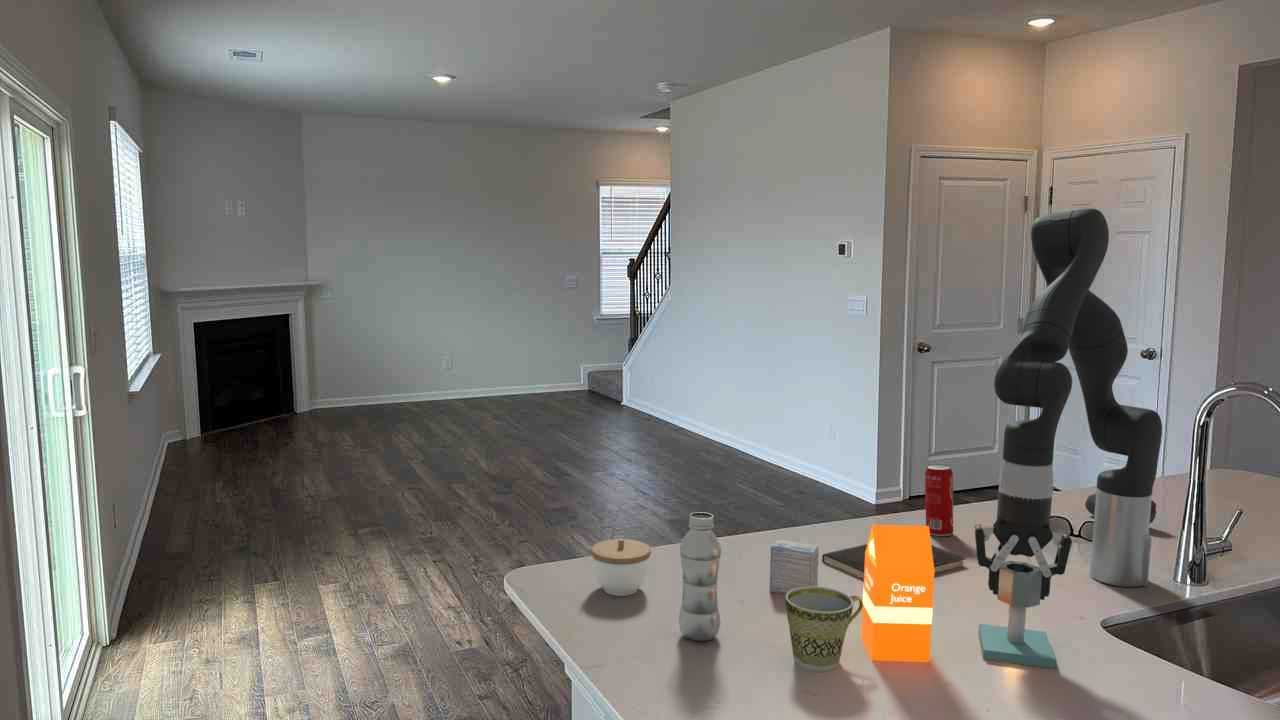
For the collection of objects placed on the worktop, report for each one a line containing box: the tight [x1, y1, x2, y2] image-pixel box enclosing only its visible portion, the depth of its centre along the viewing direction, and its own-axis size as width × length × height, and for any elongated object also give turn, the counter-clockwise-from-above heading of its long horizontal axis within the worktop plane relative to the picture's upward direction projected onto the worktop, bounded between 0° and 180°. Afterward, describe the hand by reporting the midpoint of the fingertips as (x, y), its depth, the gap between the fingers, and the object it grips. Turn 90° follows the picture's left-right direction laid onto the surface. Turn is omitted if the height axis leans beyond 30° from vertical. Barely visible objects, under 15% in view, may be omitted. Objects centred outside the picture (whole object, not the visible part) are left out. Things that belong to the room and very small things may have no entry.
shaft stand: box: [978, 604, 1056, 669], centre depth 140 cm, size 10×10×8 cm
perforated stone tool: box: [1084, 493, 1157, 525], centre depth 206 cm, size 15×5×7 cm, turn 37°
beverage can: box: [924, 463, 954, 537], centre depth 196 cm, size 6×6×15 cm
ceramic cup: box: [784, 586, 863, 673], centre depth 135 cm, size 13×10×10 cm
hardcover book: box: [821, 543, 967, 579], centre depth 178 cm, size 16×23×2 cm
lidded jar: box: [590, 538, 652, 597], centre depth 162 cm, size 11×11×9 cm
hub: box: [996, 560, 1042, 608], centre depth 139 cm, size 6×6×5 cm
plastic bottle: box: [678, 511, 722, 642], centre depth 142 cm, size 6×7×20 cm
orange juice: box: [860, 524, 935, 663], centre depth 138 cm, size 8×9×20 cm
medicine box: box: [769, 539, 820, 595], centre depth 162 cm, size 8×4×9 cm, turn 65°
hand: (1017, 595), depth 139 cm, fingers closed on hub, 6 cm apart
